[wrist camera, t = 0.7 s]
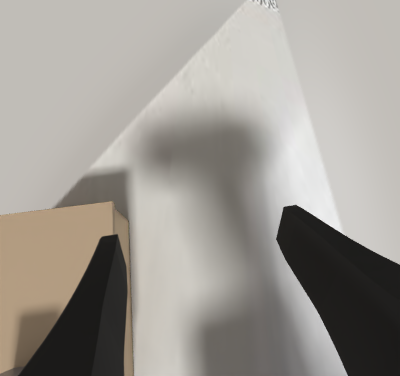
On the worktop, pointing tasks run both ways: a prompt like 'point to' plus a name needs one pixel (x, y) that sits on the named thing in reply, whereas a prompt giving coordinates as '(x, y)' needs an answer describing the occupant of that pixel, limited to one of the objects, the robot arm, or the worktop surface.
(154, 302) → the worktop surface
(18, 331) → the carton lid
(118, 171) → the worktop surface
